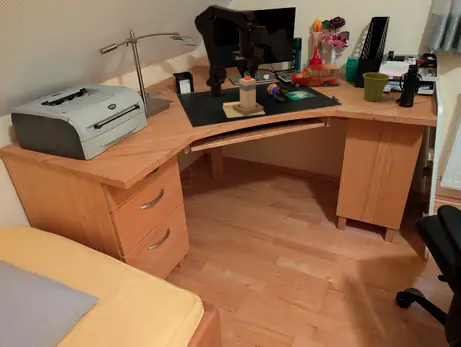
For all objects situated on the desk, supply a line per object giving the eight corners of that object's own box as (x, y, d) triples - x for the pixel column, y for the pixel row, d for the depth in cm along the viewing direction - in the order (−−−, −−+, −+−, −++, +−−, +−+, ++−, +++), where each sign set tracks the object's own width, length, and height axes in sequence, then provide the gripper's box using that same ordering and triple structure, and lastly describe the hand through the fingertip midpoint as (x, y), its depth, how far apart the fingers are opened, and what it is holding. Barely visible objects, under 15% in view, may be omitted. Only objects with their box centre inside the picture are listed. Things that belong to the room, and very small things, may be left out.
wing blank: (223, 106, 165) (223, 103, 164) (239, 104, 166) (239, 101, 165) (224, 108, 162) (224, 105, 162) (241, 106, 163) (241, 103, 163)
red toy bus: (289, 82, 198) (290, 64, 193) (333, 81, 197) (335, 63, 192) (292, 88, 189) (293, 69, 184) (338, 86, 188) (340, 68, 183)
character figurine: (276, 105, 168) (266, 96, 181) (290, 102, 169) (280, 93, 182) (275, 89, 164) (265, 81, 177) (290, 86, 165) (279, 78, 178)
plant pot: (384, 104, 162) (388, 80, 156) (357, 101, 167) (360, 77, 161) (387, 96, 171) (391, 73, 165) (361, 94, 176) (365, 71, 170)
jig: (222, 108, 166) (221, 102, 164) (257, 105, 168) (257, 98, 166) (227, 120, 153) (227, 113, 151) (265, 116, 155) (265, 109, 154)
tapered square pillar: (240, 109, 160) (239, 76, 153) (249, 107, 162) (248, 74, 155) (246, 112, 156) (245, 79, 149) (255, 110, 159) (255, 77, 151)
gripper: (273, 42, 153) (272, 77, 161) (249, 36, 167) (249, 69, 175) (252, 45, 148) (252, 82, 156) (229, 39, 162) (230, 73, 170)
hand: (246, 76), depth 164 cm, fingers open, 9 cm apart
